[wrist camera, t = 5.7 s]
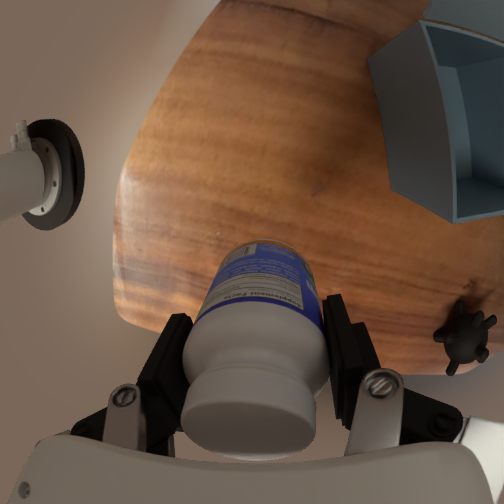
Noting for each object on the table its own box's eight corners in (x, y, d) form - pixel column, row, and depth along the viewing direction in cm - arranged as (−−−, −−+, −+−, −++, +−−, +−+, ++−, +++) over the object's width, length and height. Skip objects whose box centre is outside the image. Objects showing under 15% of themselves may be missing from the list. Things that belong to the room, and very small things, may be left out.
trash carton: (366, 59, 21) (418, 19, 10) (455, 66, 19) (521, 51, 8) (390, 189, 27) (452, 224, 15) (472, 180, 25) (539, 207, 13)
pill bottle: (305, 321, 16) (319, 469, 7) (218, 315, 17) (174, 457, 8) (319, 238, 14) (370, 387, 5) (216, 231, 15) (138, 367, 6)
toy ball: (414, 371, 33) (438, 327, 26) (438, 324, 38) (458, 274, 31) (466, 397, 26) (503, 358, 19) (484, 346, 31) (513, 299, 24)
